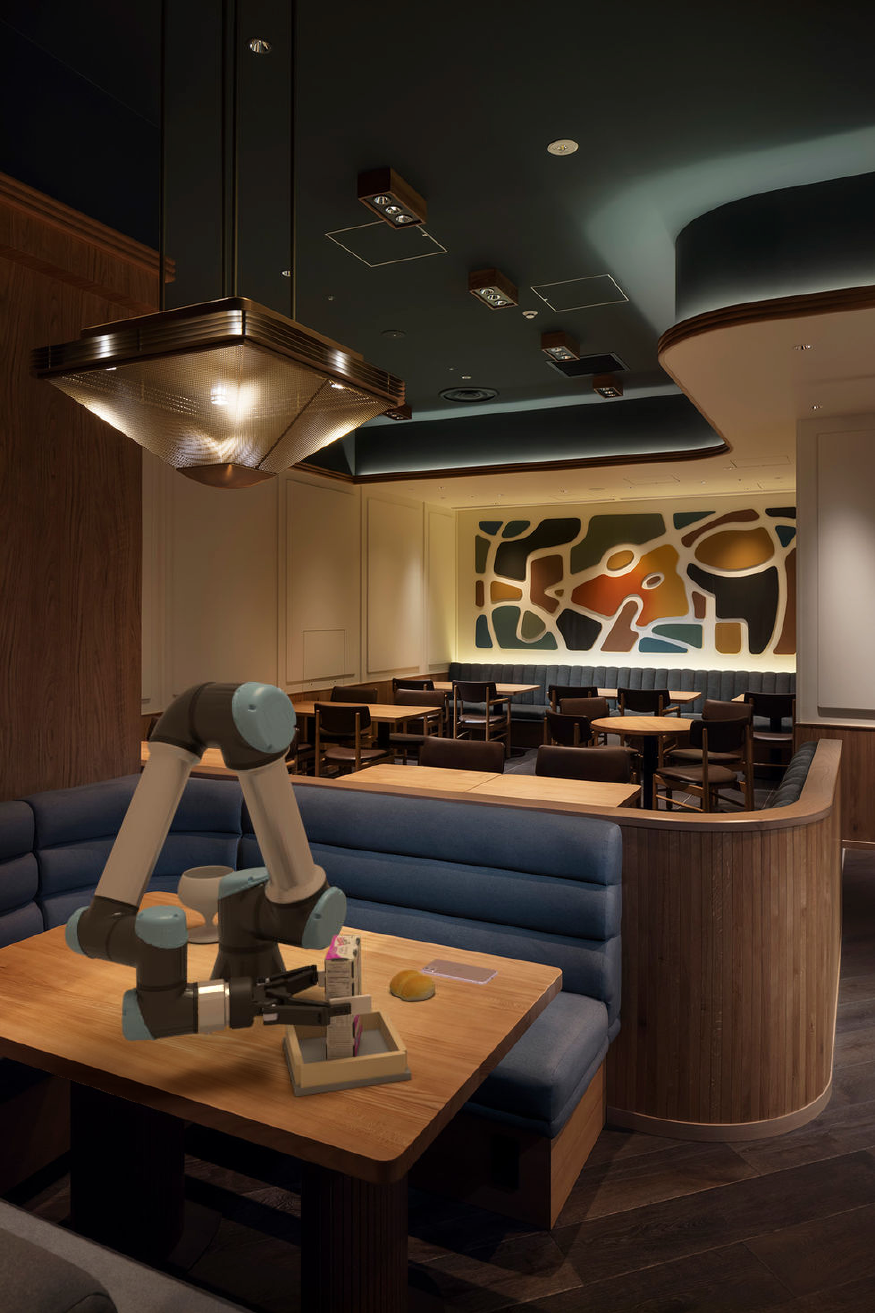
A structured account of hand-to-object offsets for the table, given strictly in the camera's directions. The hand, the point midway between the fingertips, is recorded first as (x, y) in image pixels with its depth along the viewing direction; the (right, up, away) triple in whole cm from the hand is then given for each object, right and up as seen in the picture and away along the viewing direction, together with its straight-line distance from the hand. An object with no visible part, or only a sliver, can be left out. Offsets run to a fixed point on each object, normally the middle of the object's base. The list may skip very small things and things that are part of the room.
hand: (363, 988), depth 140 cm
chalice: (-42, -11, +60) cm, 74 cm away
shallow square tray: (-3, -12, -1) cm, 12 cm away
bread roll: (+7, -12, +27) cm, 30 cm away
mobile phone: (+17, -12, +37) cm, 42 cm away
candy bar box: (-3, -9, -1) cm, 10 cm away
